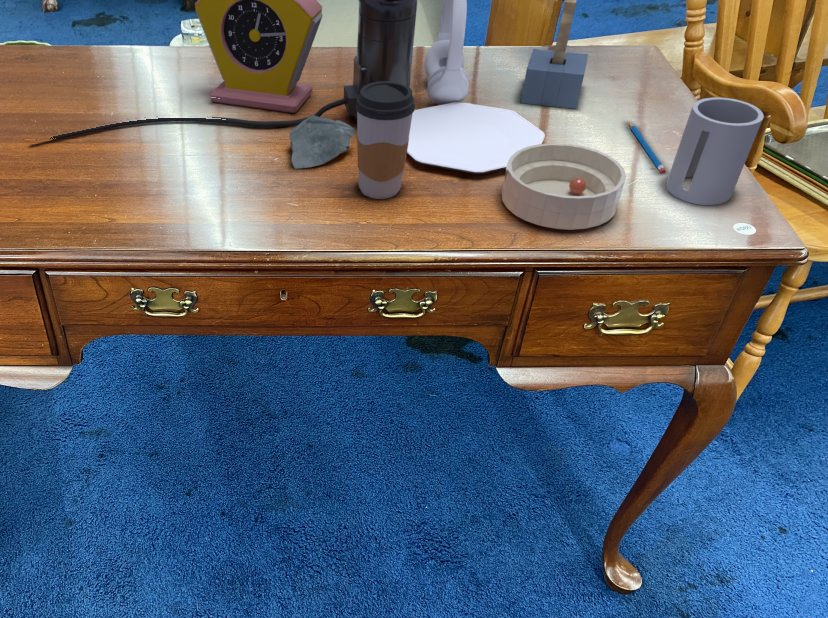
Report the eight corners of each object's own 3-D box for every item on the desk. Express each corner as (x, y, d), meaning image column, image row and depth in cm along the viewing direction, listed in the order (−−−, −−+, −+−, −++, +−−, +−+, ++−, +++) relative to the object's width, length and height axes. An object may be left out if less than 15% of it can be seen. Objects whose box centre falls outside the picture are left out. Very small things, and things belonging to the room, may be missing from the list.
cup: (732, 181, 122) (764, 103, 113) (729, 209, 116) (762, 130, 107) (669, 170, 125) (695, 93, 116) (662, 197, 119) (689, 119, 110)
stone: (357, 172, 129) (355, 128, 133) (356, 154, 125) (354, 109, 130) (291, 178, 130) (291, 134, 134) (288, 160, 126) (288, 115, 131)
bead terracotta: (570, 198, 118) (574, 183, 116) (565, 190, 120) (568, 175, 118) (586, 196, 118) (590, 182, 117) (580, 188, 120) (584, 174, 118)
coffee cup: (406, 176, 125) (415, 79, 115) (407, 204, 119) (417, 104, 109) (353, 175, 126) (357, 79, 115) (351, 202, 120) (355, 103, 109)
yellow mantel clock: (196, 100, 147) (184, -29, 132) (217, 81, 153) (207, -44, 138) (309, 116, 141) (310, -17, 126) (326, 95, 148) (328, -34, 132)
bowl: (521, 237, 112) (528, 202, 108) (487, 181, 124) (493, 147, 120) (633, 228, 113) (645, 193, 109) (590, 173, 124) (599, 139, 121)
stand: (520, 102, 143) (526, 68, 139) (526, 81, 150) (533, 48, 146) (576, 109, 141) (584, 74, 137) (580, 87, 147) (588, 54, 143)
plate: (552, 124, 137) (554, 116, 136) (522, 189, 121) (524, 180, 120) (418, 103, 144) (419, 95, 143) (374, 162, 129) (375, 153, 128)
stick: (545, 96, 145) (564, 1, 134) (546, 92, 146) (565, -2, 135) (555, 97, 144) (576, 2, 133) (556, 93, 146) (577, -1, 134)
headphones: (426, 116, 140) (439, -7, 126) (421, 75, 153) (432, -42, 139) (467, 117, 140) (486, -7, 126) (459, 75, 153) (474, -42, 139)
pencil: (660, 174, 124) (661, 169, 124) (626, 125, 136) (628, 121, 136) (665, 173, 124) (666, 169, 124) (631, 125, 136) (632, 121, 136)
